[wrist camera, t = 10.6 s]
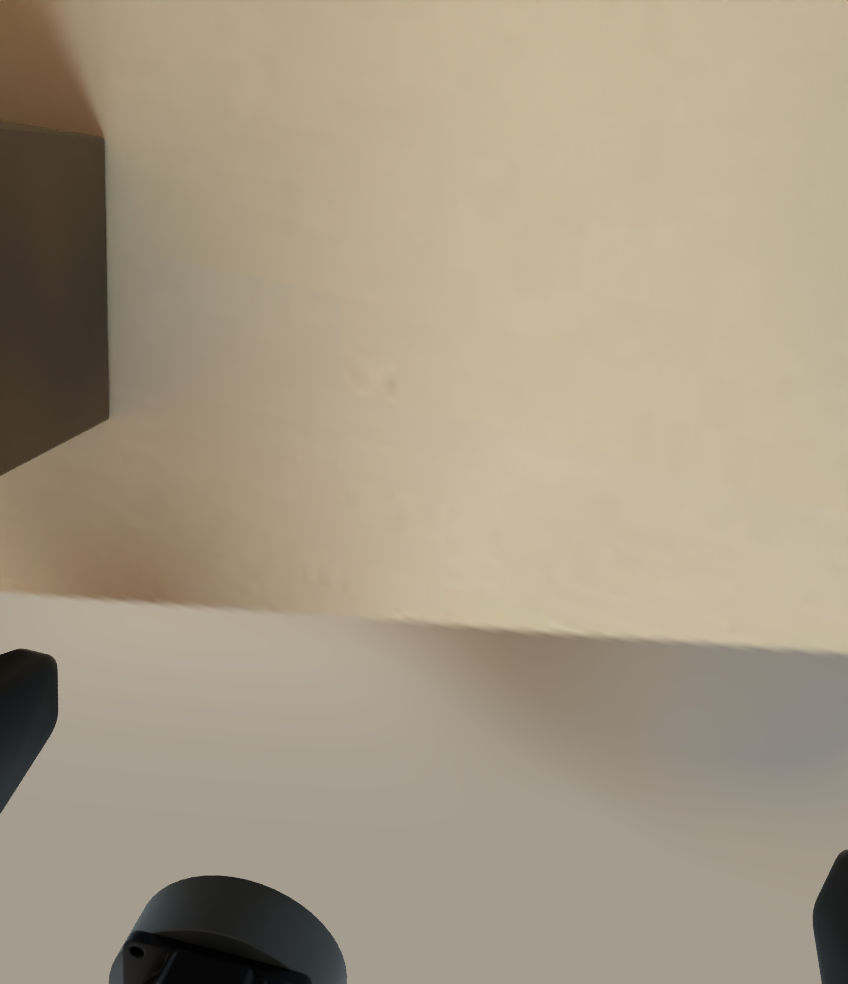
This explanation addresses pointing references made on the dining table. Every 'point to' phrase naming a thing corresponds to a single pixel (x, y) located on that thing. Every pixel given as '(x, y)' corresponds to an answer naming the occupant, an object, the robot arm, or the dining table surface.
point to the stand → (51, 290)
